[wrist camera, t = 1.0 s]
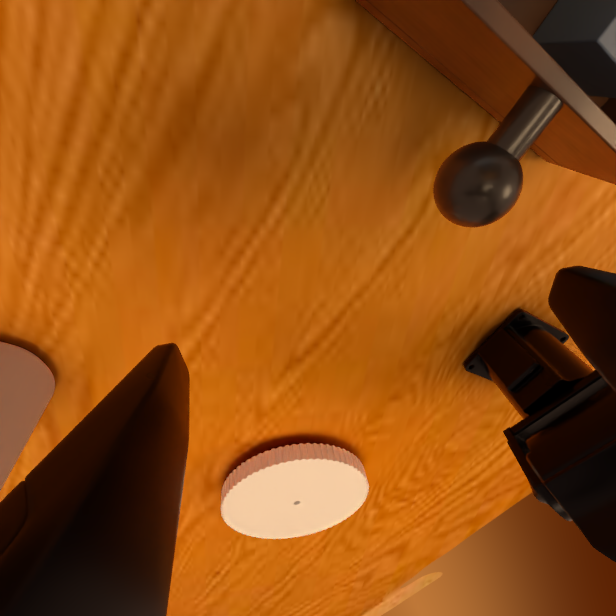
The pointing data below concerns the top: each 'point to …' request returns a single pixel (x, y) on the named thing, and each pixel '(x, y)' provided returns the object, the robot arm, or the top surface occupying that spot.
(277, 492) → the plastic lid
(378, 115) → the top surface
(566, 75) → the bin
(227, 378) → the top surface
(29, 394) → the beverage can
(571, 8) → the slate block
